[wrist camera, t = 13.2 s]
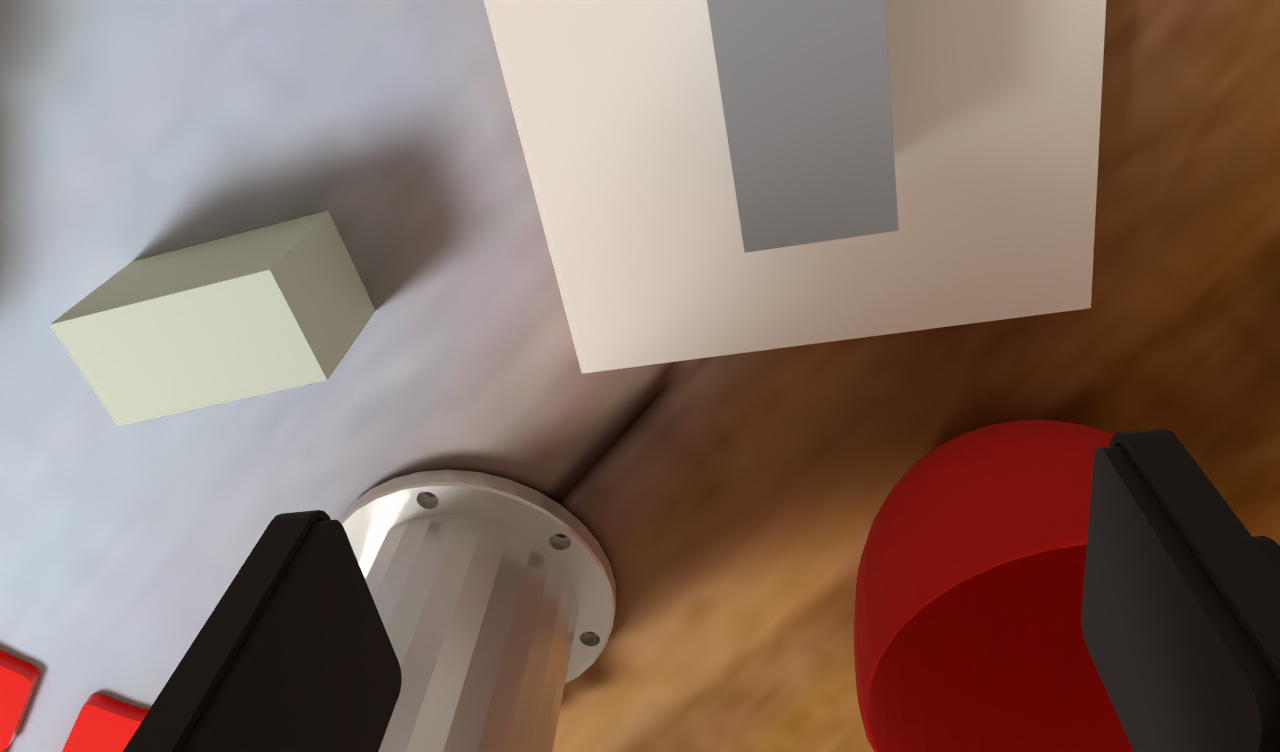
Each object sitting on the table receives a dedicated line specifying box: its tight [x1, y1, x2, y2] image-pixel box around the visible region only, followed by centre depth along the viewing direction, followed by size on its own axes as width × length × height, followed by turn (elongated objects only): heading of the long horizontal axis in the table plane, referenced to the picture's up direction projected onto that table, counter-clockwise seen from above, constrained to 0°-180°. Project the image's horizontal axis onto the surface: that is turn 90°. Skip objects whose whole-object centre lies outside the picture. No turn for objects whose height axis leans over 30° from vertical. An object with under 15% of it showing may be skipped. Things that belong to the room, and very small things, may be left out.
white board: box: [484, 0, 1106, 374], centre depth 28 cm, size 17×17×2 cm
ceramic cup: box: [854, 420, 1134, 752], centre depth 33 cm, size 13×17×10 cm
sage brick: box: [50, 210, 375, 426], centre depth 32 cm, size 8×4×5 cm, turn 106°
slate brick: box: [707, 0, 899, 253], centre depth 25 cm, size 8×4×5 cm, turn 11°
